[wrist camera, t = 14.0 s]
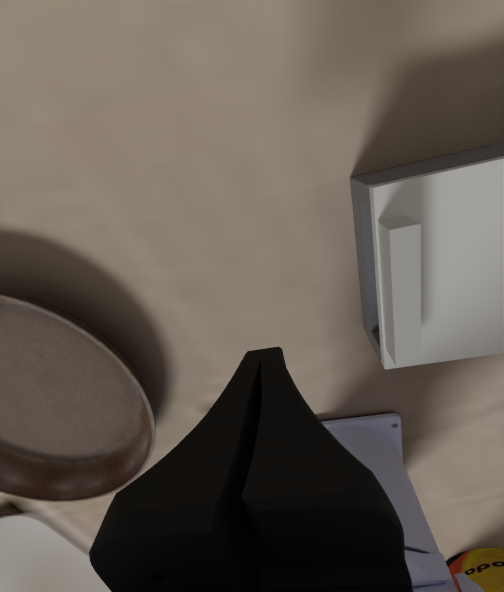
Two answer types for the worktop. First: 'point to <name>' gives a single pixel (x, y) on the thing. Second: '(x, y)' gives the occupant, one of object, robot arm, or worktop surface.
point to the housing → (365, 222)
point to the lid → (440, 264)
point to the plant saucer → (66, 408)
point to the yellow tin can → (480, 567)
